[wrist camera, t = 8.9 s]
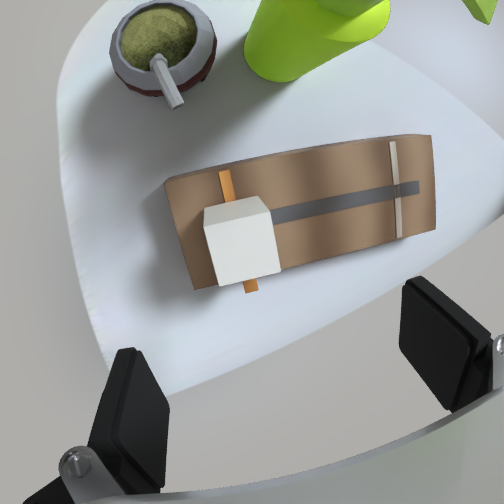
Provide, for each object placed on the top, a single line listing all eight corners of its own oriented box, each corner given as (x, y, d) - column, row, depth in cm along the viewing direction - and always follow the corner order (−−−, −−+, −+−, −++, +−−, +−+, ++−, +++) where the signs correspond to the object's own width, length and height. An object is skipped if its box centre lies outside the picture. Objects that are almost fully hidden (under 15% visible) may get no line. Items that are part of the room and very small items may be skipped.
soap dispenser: (300, 102, 24) (485, 61, 6) (230, 59, 22) (284, -97, 4) (333, 51, 23) (513, -26, 4) (266, 9, 21) (365, -147, 2)
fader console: (412, 133, 26) (448, 137, 21) (418, 220, 30) (451, 237, 25) (168, 177, 25) (158, 188, 20) (195, 274, 29) (193, 305, 23)
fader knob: (257, 195, 23) (270, 211, 19) (267, 245, 25) (281, 271, 20) (204, 207, 23) (203, 227, 18) (217, 257, 25) (219, 286, 20)
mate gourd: (157, 16, 20) (112, -83, 6) (239, 50, 22) (276, -37, 8) (113, 90, 22) (17, 53, 8) (196, 126, 24) (178, 113, 10)
